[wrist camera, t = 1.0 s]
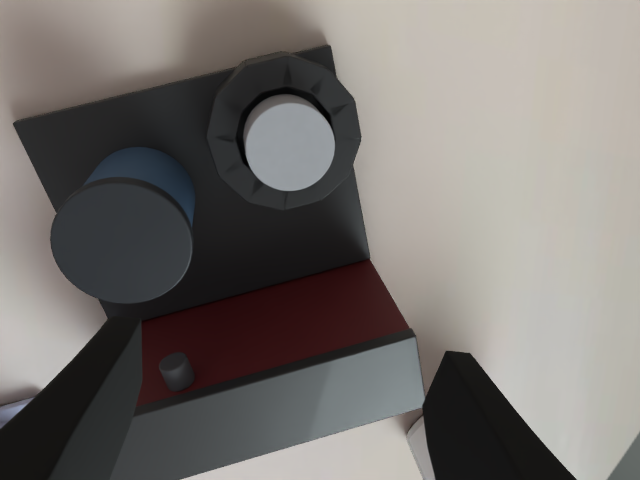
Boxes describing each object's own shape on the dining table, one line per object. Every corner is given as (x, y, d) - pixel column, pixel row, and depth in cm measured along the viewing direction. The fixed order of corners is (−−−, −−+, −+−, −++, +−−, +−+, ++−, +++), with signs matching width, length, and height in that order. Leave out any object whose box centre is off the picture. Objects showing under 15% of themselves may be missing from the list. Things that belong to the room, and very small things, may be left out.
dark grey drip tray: (13, 114, 22) (-11, 127, 19) (332, 37, 23) (345, 41, 20) (114, 322, 27) (104, 353, 25) (372, 252, 28) (386, 275, 25)
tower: (106, 307, 26) (66, 412, 20) (365, 236, 27) (413, 314, 21) (142, 381, 29) (117, 498, 22) (380, 314, 30) (427, 406, 23)
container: (111, 256, 25) (84, 319, 20) (67, 158, 22) (24, 202, 17) (212, 229, 25) (209, 284, 20) (178, 131, 23) (166, 166, 18)
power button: (232, 105, 21) (234, 115, 19) (316, 84, 21) (325, 92, 19) (255, 185, 23) (258, 201, 21) (332, 164, 23) (342, 178, 21)
